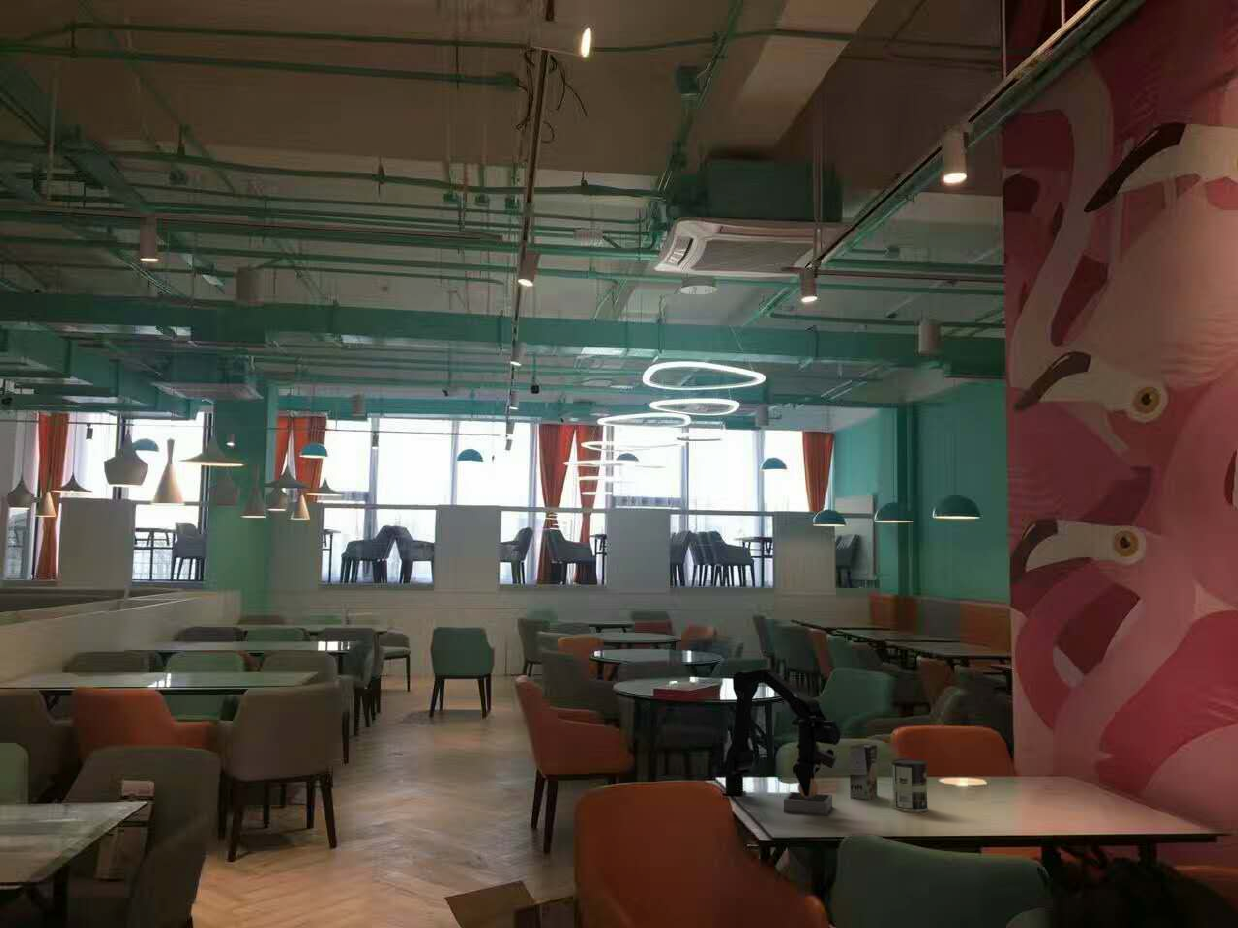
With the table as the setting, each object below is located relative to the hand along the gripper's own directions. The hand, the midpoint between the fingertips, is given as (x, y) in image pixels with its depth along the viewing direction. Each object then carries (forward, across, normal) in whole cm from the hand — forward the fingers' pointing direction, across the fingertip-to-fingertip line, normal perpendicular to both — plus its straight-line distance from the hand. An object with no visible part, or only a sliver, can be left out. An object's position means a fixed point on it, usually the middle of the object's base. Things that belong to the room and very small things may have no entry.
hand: (808, 793), depth 306 cm
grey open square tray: (+4, 0, 0) cm, 4 cm away
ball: (-2, 0, 0) cm, 2 cm away
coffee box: (+5, +26, -14) cm, 30 cm away
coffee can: (+5, +13, -29) cm, 32 cm away
